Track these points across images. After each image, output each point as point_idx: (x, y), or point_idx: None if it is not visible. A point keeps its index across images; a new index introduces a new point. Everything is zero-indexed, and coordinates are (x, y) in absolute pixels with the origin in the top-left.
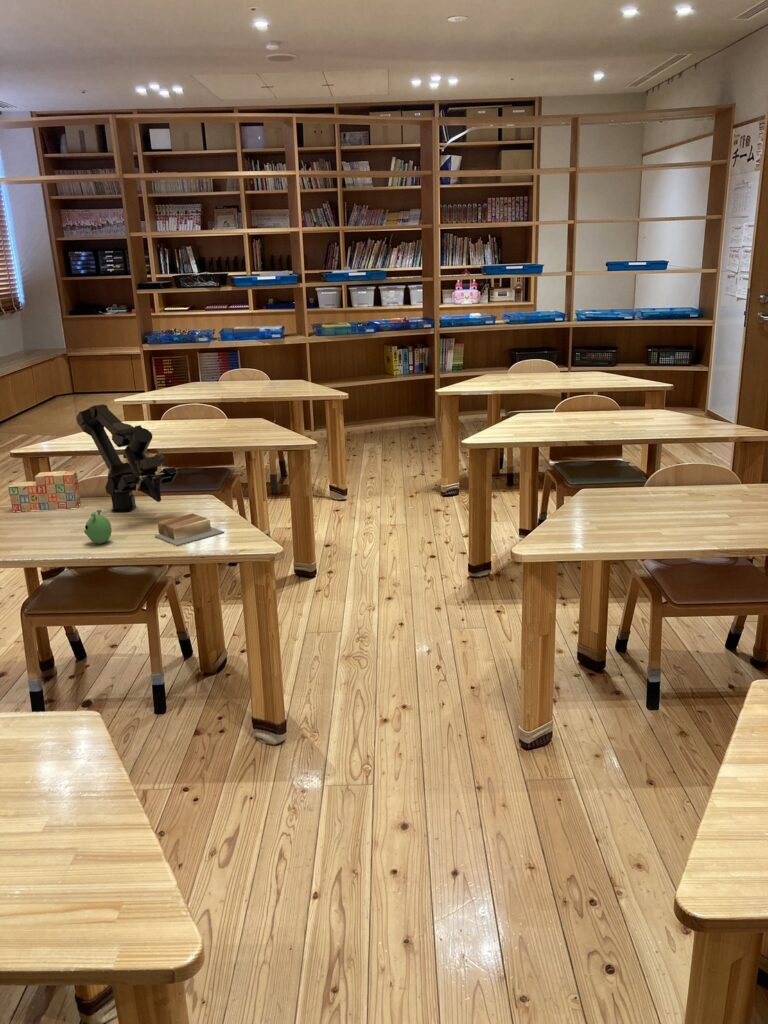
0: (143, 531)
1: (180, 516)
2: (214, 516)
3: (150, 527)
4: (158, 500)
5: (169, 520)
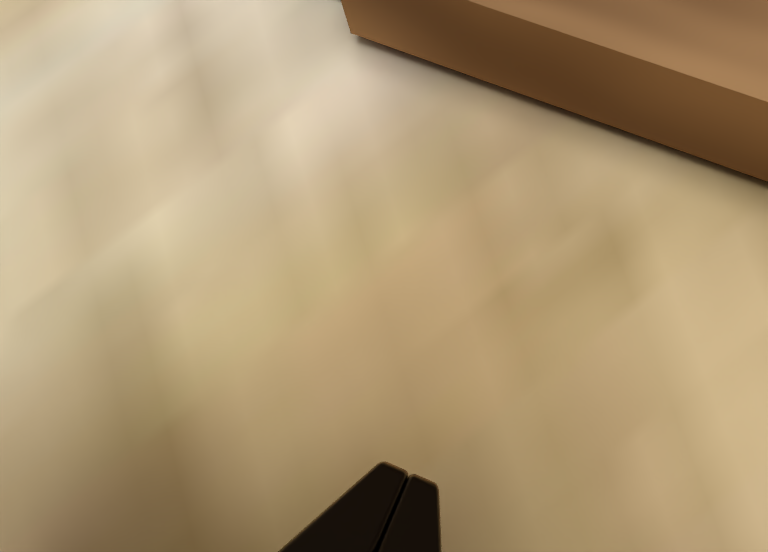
0: (749, 491)
1: (513, 11)
2: (3, 43)
3: (576, 510)
4: (435, 498)
5: (742, 35)
